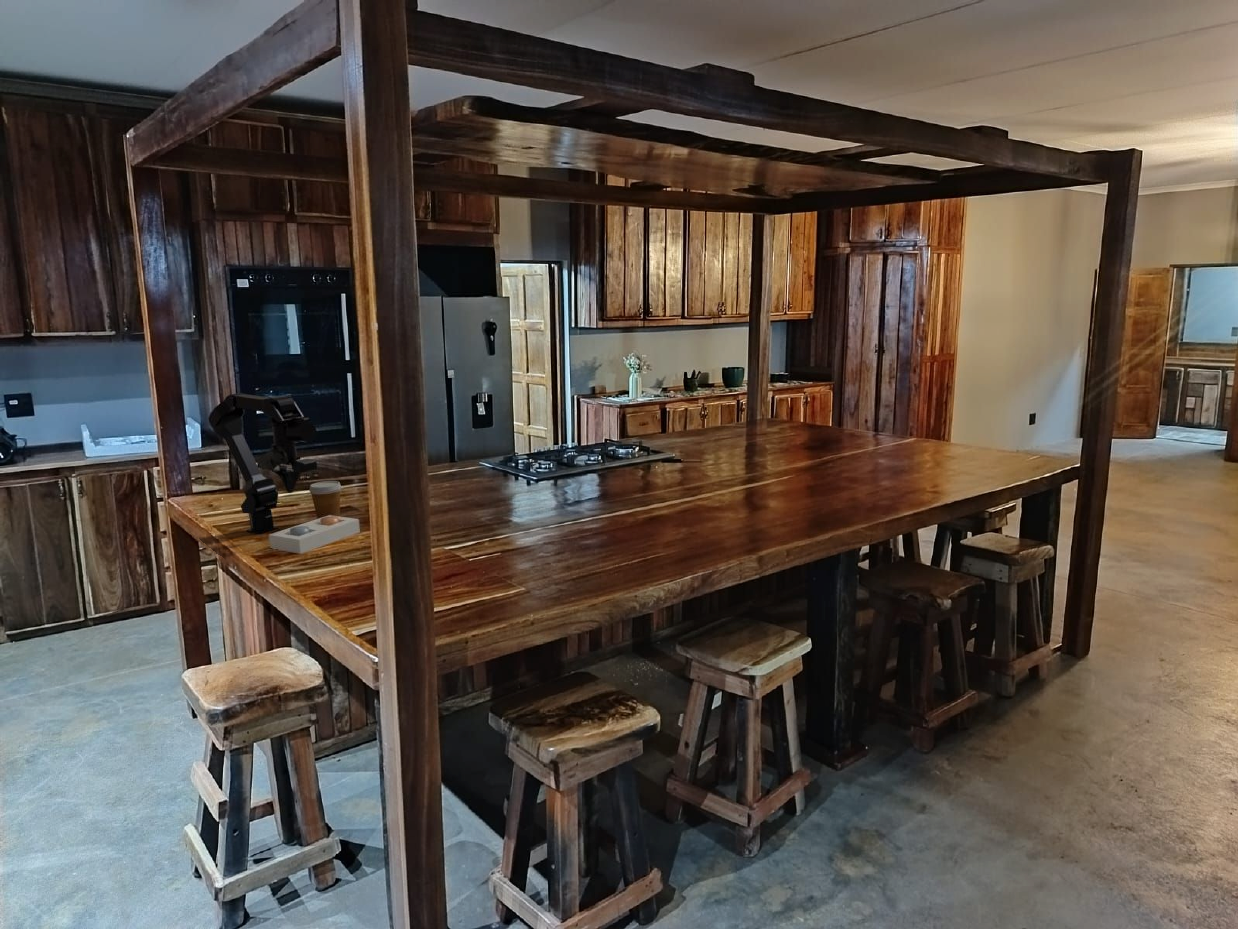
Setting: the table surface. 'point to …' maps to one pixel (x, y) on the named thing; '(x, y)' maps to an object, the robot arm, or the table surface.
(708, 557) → the table surface
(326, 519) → the terracotta button
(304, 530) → the slate-grey button
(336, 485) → the disposable coffee cup
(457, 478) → the table surface
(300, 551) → the button panel
